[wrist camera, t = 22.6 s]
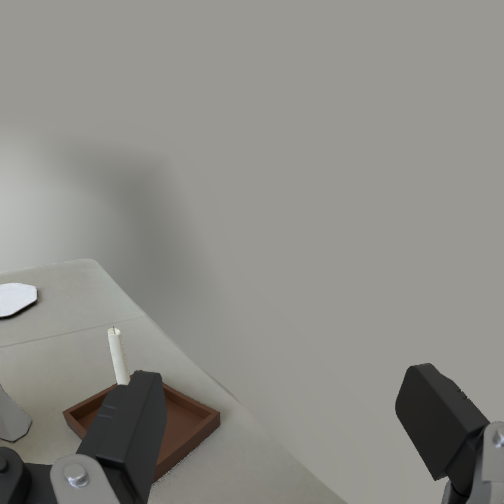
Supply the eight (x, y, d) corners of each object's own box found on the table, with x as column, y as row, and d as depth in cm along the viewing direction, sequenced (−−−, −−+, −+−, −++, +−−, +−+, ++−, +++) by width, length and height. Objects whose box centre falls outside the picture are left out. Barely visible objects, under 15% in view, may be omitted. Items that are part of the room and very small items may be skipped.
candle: (154, 414, 36) (138, 316, 32) (153, 440, 31) (132, 338, 27) (119, 412, 35) (97, 315, 31) (114, 438, 30) (85, 337, 26)
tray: (143, 382, 43) (140, 369, 43) (220, 424, 36) (220, 412, 35) (67, 424, 30) (61, 411, 30) (140, 493, 23) (135, 482, 22)
